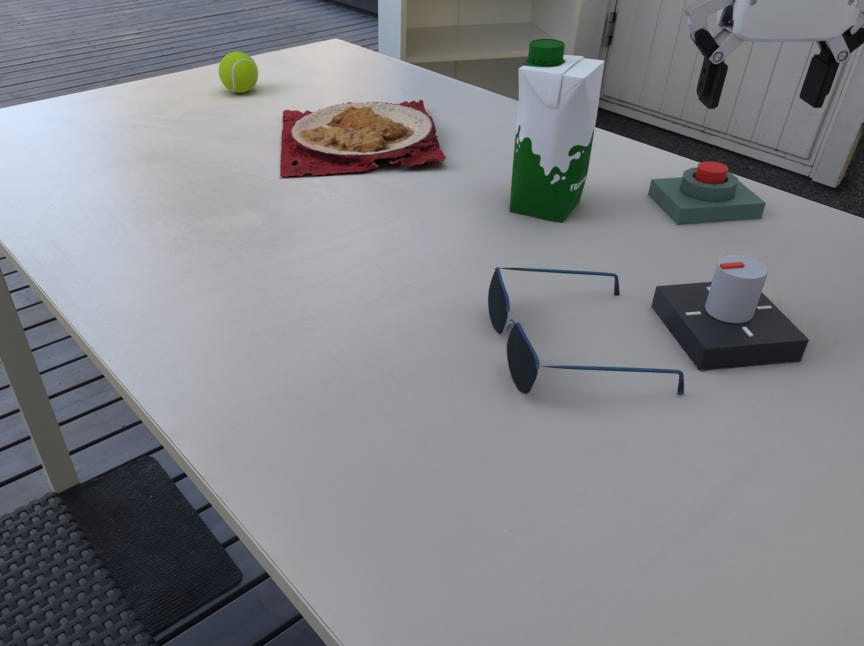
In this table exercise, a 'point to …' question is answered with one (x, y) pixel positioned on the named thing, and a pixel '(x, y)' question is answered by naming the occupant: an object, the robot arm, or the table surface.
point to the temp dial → (736, 288)
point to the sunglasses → (519, 346)
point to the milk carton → (553, 130)
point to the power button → (711, 172)
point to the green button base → (705, 199)
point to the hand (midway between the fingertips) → (758, 103)
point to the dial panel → (727, 330)
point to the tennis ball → (238, 72)
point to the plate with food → (357, 137)
